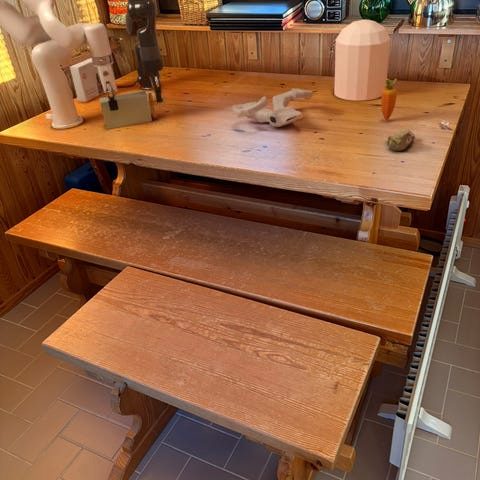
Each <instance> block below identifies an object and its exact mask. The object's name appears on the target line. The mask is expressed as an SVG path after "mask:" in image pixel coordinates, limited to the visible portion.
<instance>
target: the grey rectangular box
mask: <svg viewBox="0 0 480 480" xmlns="http://www.w3.org/2000/svg"><path fill="white" fill-rule="evenodd" d="M146 91H147V90H143V91H136V92H131V93H123V94H117V95H116V96H115V98H116V100H117V104H118V108H119V109H118V110H114V111H110V107H109V103H108V97H107V96H105V97H99V98H98V99H99V105H100V109H101V112H102V117H103V121H104V126H105V129H106V130H109V129H110V130H111V129H114V128H115V129H116V128H122V127H127V126H133V125H137V124H143V123H150V122H153V117H152V112H151V107H150V101H149V96H148V93H147V92H146ZM109 99H110V98H109Z"/></svg>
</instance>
